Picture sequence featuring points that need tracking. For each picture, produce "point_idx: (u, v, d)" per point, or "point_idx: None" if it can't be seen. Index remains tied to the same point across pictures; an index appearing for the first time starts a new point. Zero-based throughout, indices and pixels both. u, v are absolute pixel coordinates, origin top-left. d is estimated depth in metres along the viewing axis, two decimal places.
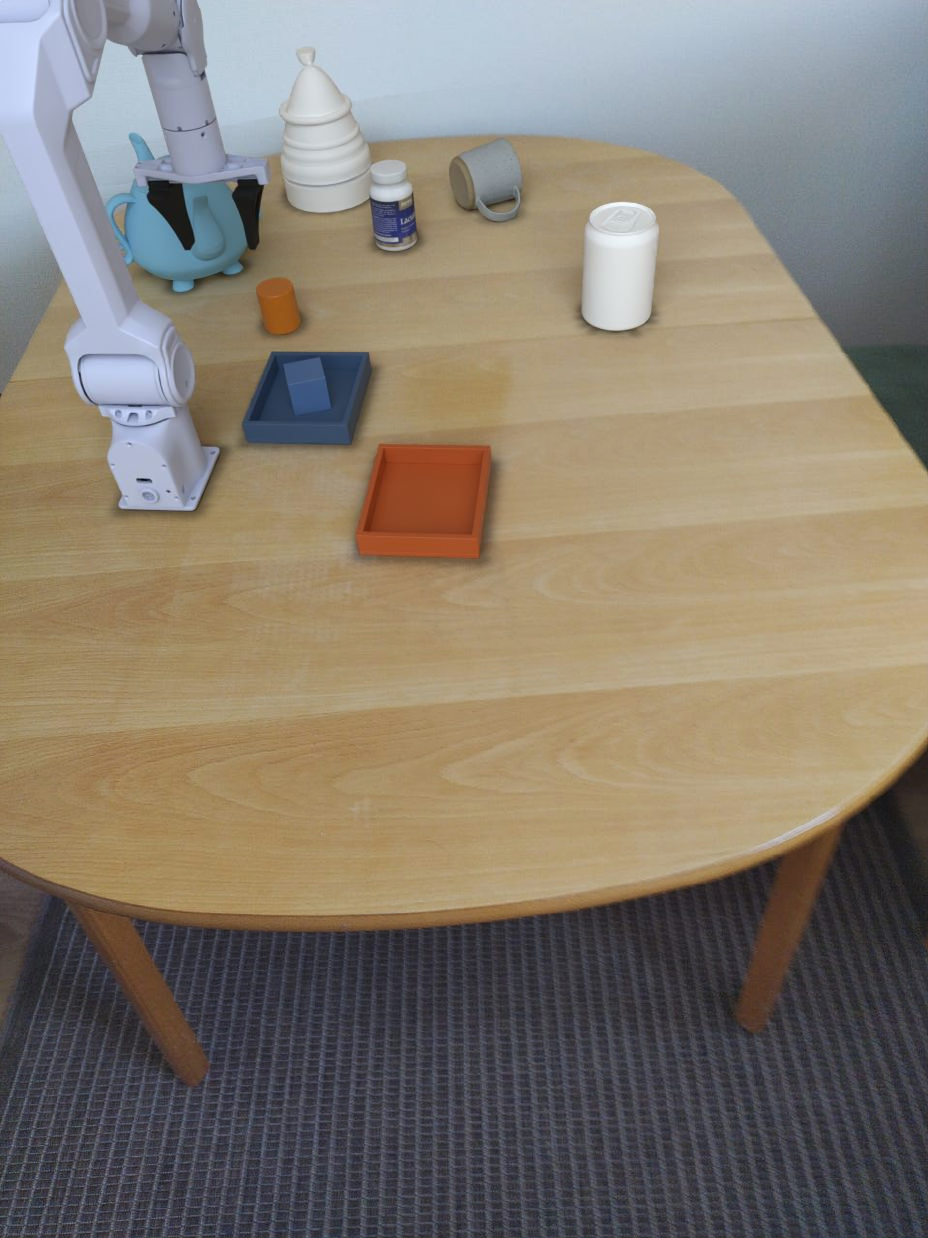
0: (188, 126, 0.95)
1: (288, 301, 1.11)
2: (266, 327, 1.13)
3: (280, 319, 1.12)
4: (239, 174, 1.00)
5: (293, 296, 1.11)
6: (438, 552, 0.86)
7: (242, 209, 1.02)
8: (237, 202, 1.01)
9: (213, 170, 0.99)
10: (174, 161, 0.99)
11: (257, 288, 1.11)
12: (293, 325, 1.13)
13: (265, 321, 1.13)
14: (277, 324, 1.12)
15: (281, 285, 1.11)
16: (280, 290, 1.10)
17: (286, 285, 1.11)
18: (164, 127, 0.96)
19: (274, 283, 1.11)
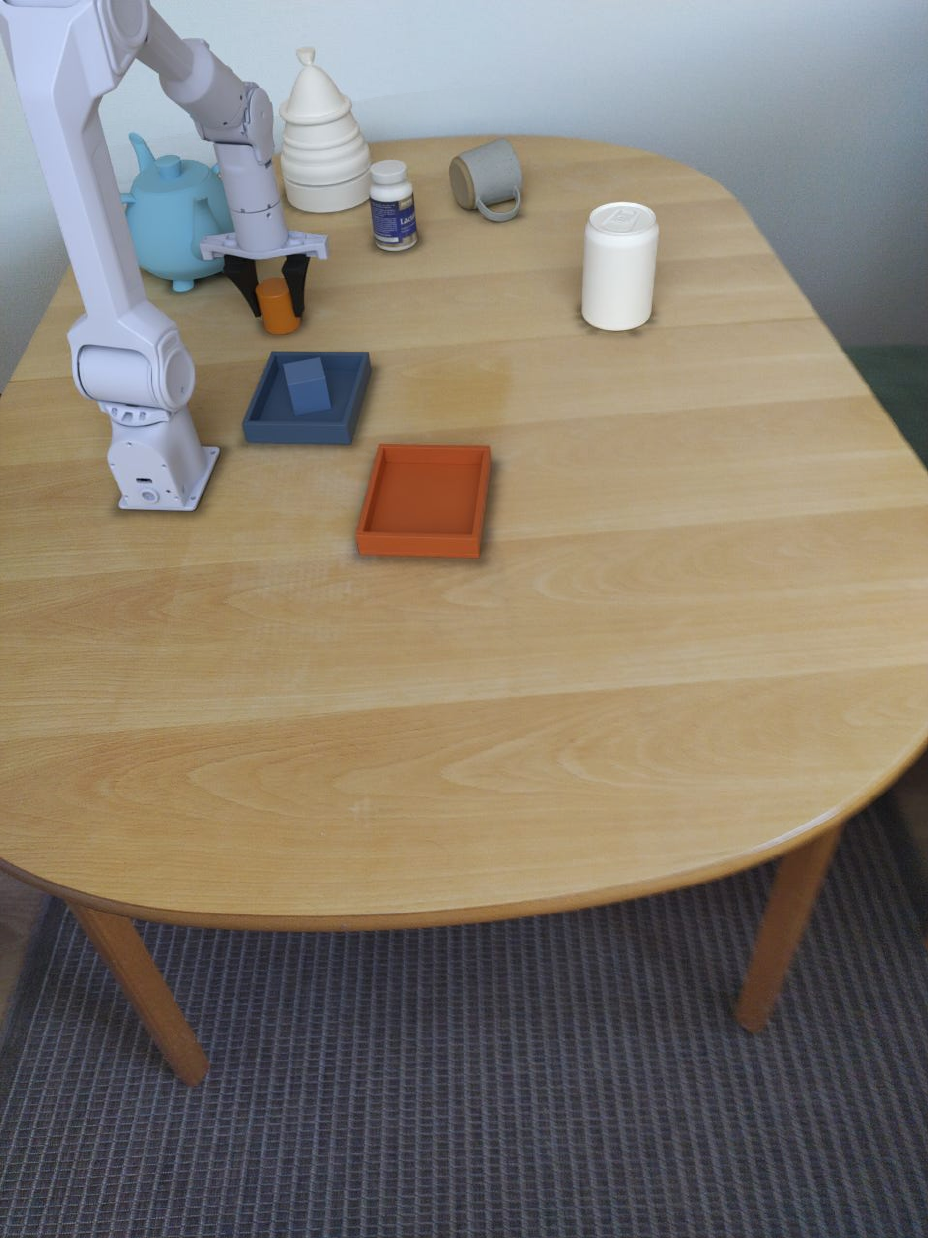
0: (250, 209, 1.01)
1: (288, 301, 1.11)
2: (266, 327, 1.13)
3: (279, 319, 1.12)
4: (301, 250, 1.05)
5: None
6: (438, 552, 0.86)
7: (291, 282, 1.08)
8: (286, 276, 1.07)
9: (276, 247, 1.05)
10: (240, 239, 1.04)
11: (257, 288, 1.11)
12: (293, 325, 1.13)
13: (265, 321, 1.13)
14: (277, 324, 1.12)
15: (281, 285, 1.11)
16: (280, 290, 1.10)
17: (285, 285, 1.11)
18: (232, 208, 1.02)
19: (274, 283, 1.11)
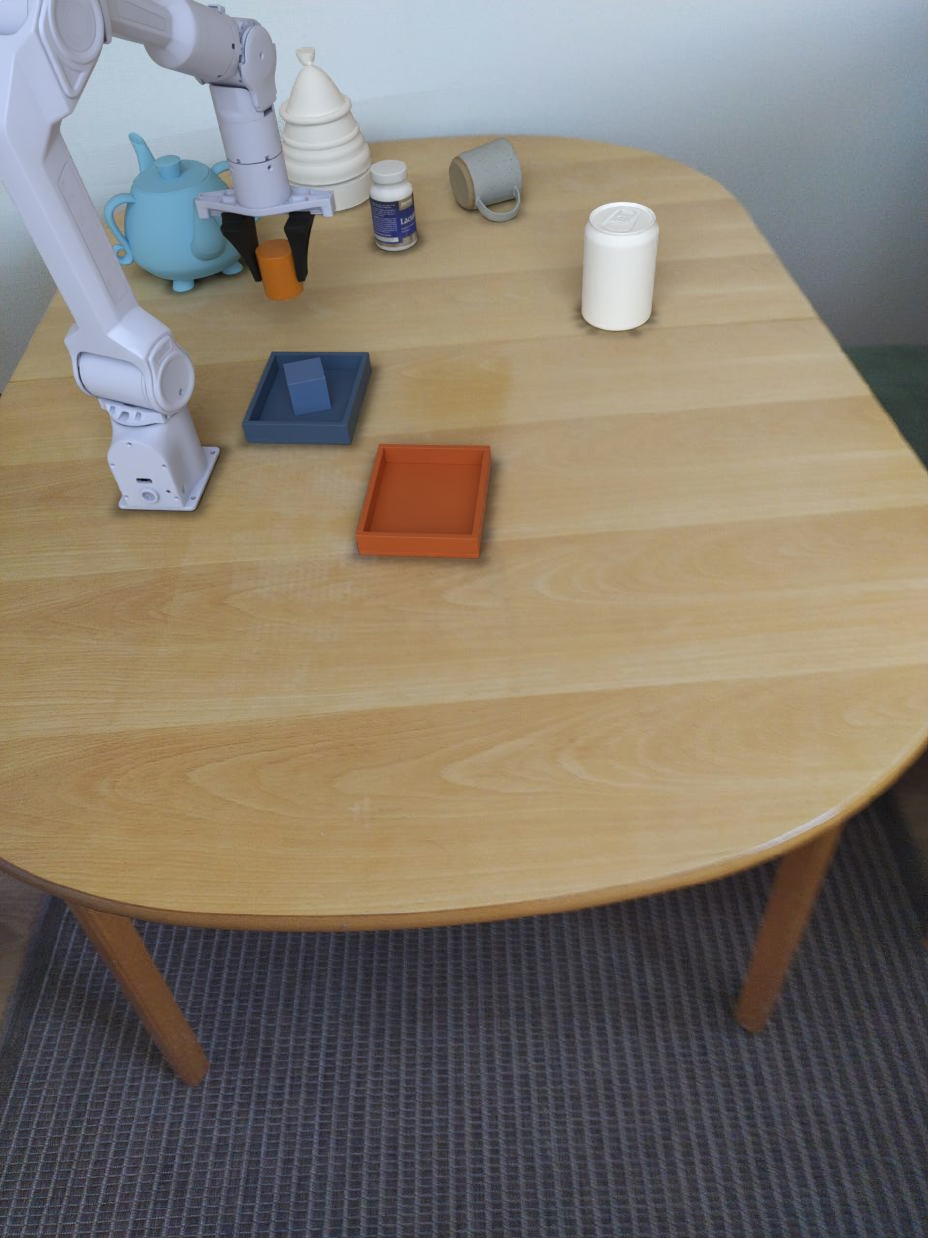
0: (247, 160, 0.93)
1: (290, 263, 1.03)
2: (266, 292, 1.06)
3: (281, 284, 1.04)
4: (304, 207, 0.98)
5: None
6: (438, 552, 0.86)
7: (293, 242, 1.00)
8: (288, 235, 0.99)
9: (278, 203, 0.97)
10: (239, 194, 0.97)
11: (257, 250, 1.03)
12: (295, 290, 1.05)
13: (265, 286, 1.05)
14: (278, 289, 1.04)
15: (283, 246, 1.03)
16: (282, 251, 1.02)
17: (288, 246, 1.03)
18: (230, 160, 0.94)
19: (275, 245, 1.03)
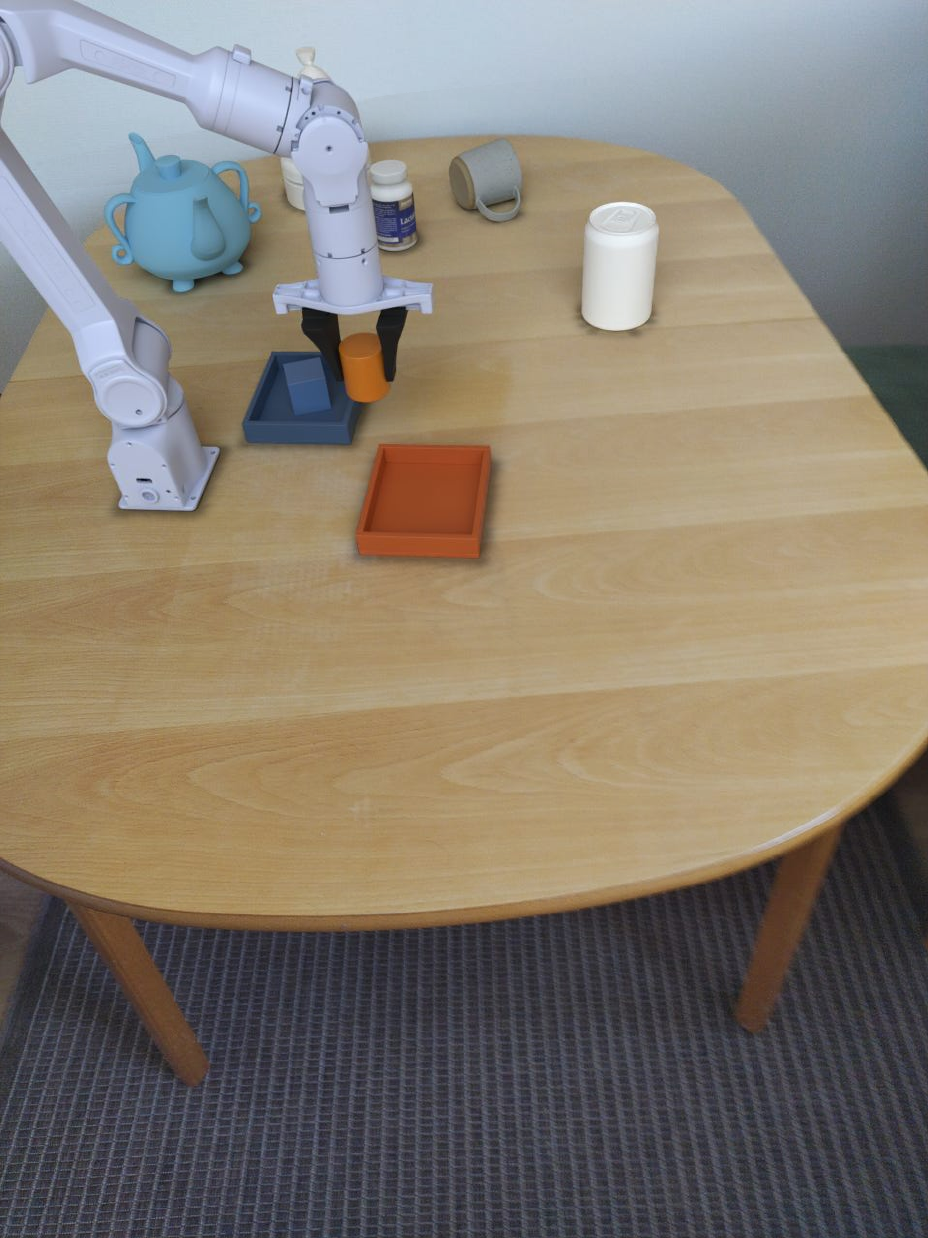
0: (313, 247, 0.81)
1: (379, 362, 0.89)
2: (349, 393, 0.92)
3: (367, 385, 0.90)
4: (401, 303, 0.84)
5: None
6: (438, 552, 0.86)
7: (385, 341, 0.86)
8: (381, 334, 0.85)
9: (371, 299, 0.83)
10: (325, 289, 0.83)
11: (340, 347, 0.89)
12: (383, 391, 0.92)
13: (348, 386, 0.91)
14: (364, 391, 0.91)
15: (370, 343, 0.90)
16: (369, 349, 0.89)
17: (376, 342, 0.90)
18: (318, 253, 0.80)
19: (361, 341, 0.90)
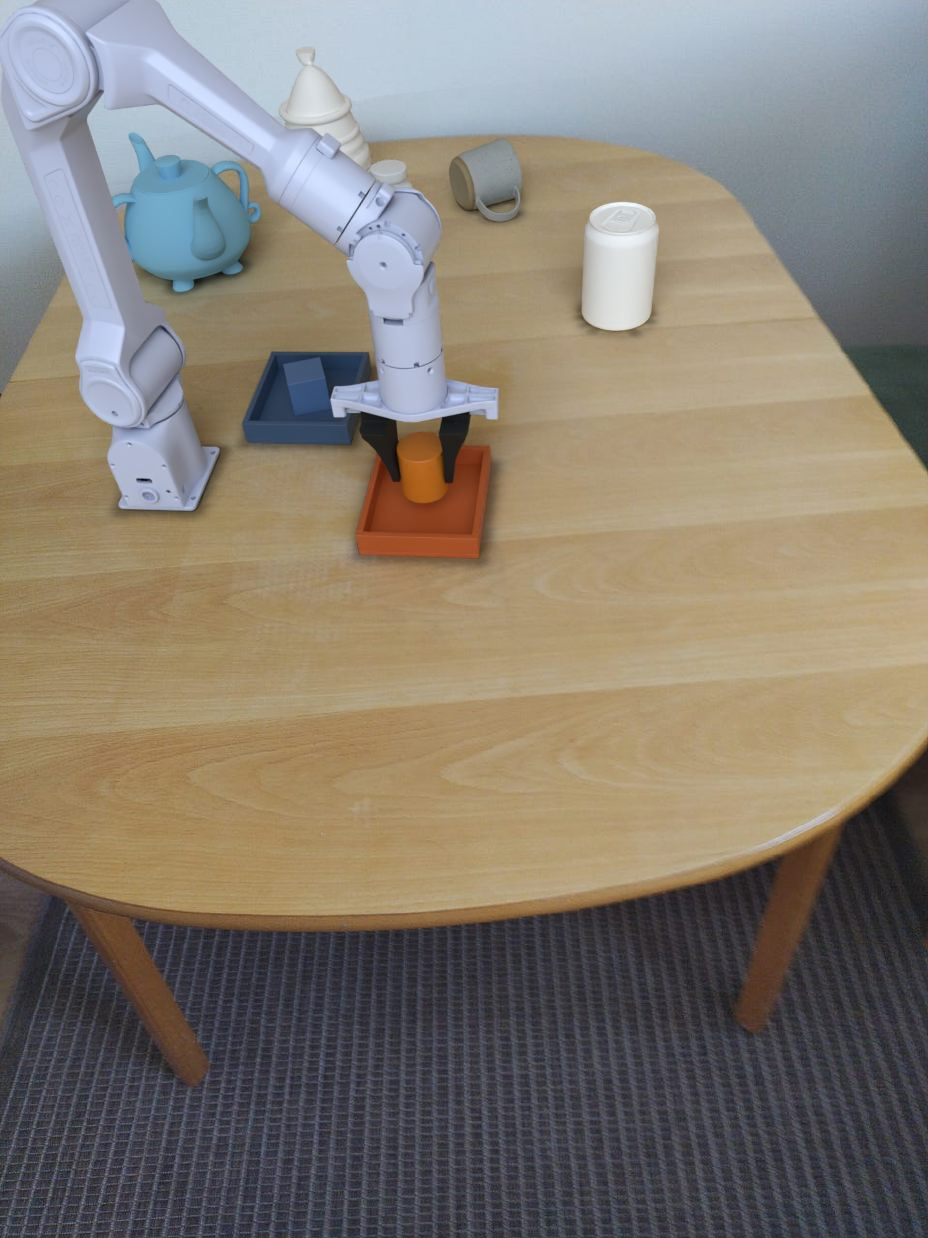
0: None
1: (439, 464, 0.86)
2: (406, 493, 0.88)
3: (426, 487, 0.87)
4: (465, 410, 0.80)
5: None
6: (438, 552, 0.86)
7: (447, 446, 0.83)
8: (443, 440, 0.82)
9: (434, 406, 0.80)
10: (387, 397, 0.79)
11: (398, 448, 0.86)
12: (441, 492, 0.88)
13: (406, 487, 0.88)
14: (422, 492, 0.87)
15: (429, 444, 0.86)
16: (429, 451, 0.85)
17: (435, 443, 0.86)
18: (382, 362, 0.77)
19: (420, 441, 0.86)
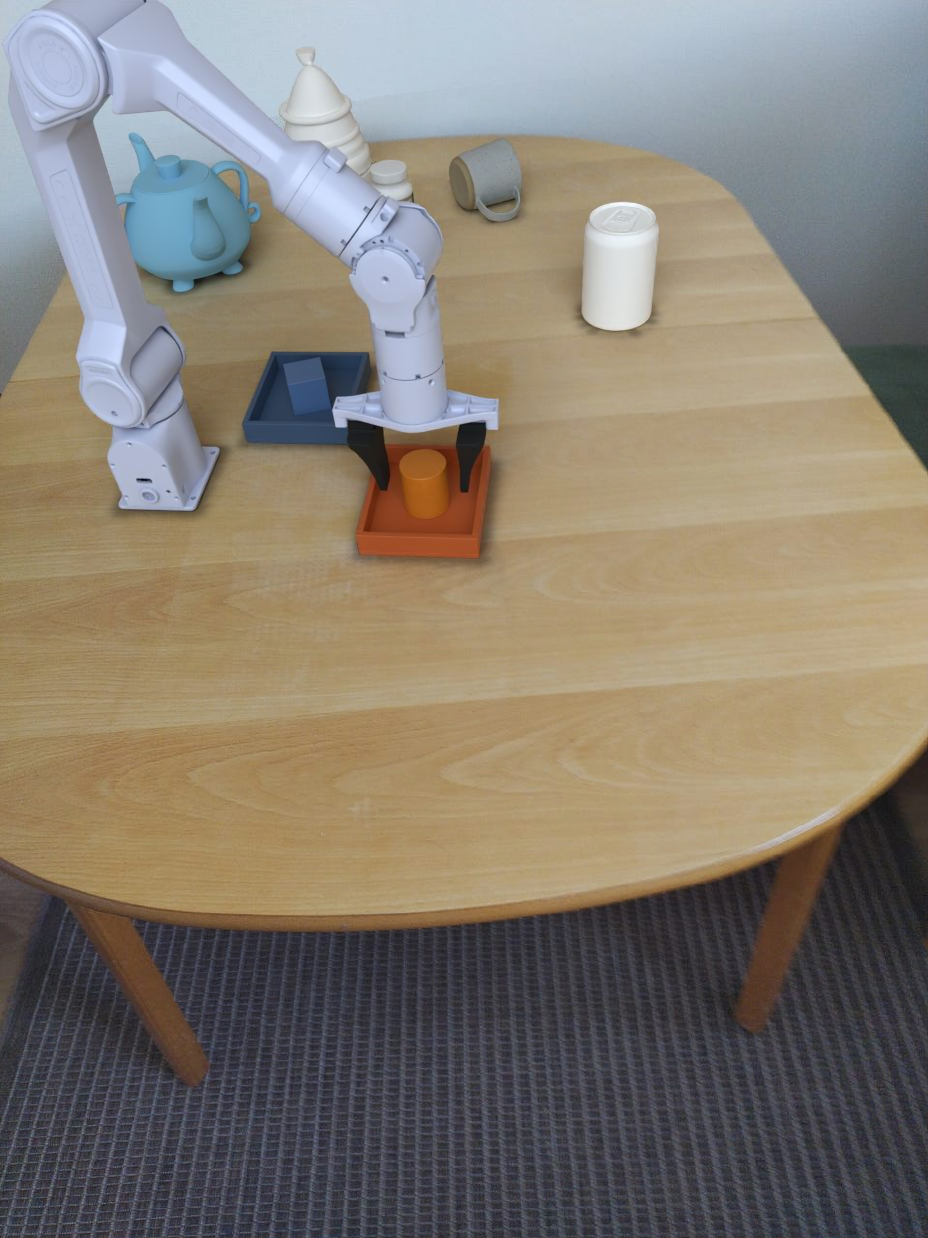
0: None
1: (440, 482, 0.87)
2: (408, 510, 0.90)
3: (428, 503, 0.88)
4: (466, 421, 0.81)
5: (446, 475, 0.88)
6: (438, 552, 0.86)
7: (464, 457, 0.83)
8: (460, 451, 0.82)
9: (435, 417, 0.81)
10: (389, 408, 0.80)
11: (401, 465, 0.87)
12: (443, 508, 0.89)
13: (408, 503, 0.89)
14: (424, 509, 0.89)
15: (431, 461, 0.87)
16: (431, 469, 0.87)
17: (437, 461, 0.87)
18: (383, 373, 0.78)
19: (422, 459, 0.88)
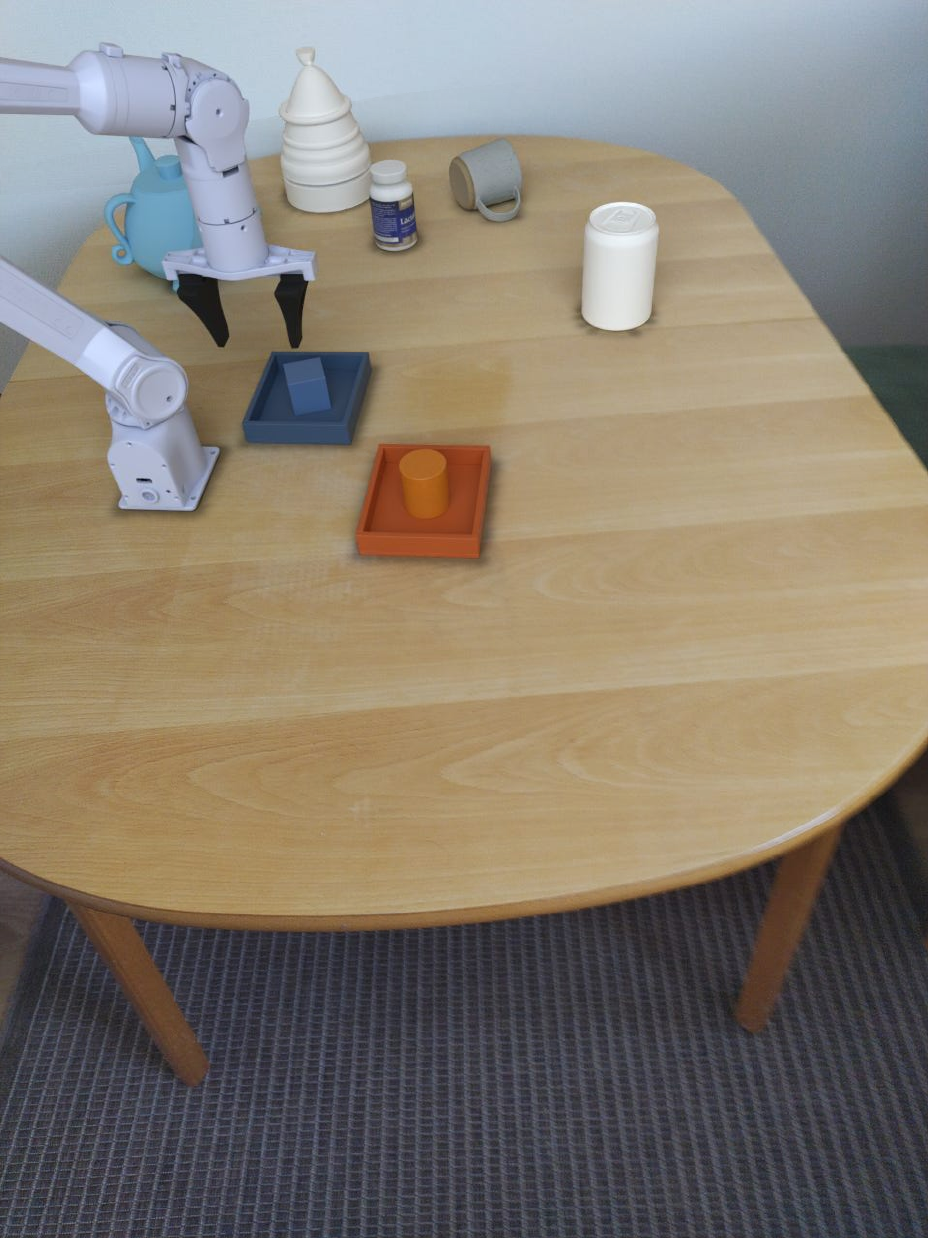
0: (204, 219, 0.83)
1: (440, 482, 0.87)
2: (408, 510, 0.90)
3: (428, 503, 0.88)
4: (283, 270, 0.87)
5: (446, 475, 0.88)
6: (438, 552, 0.86)
7: (285, 307, 0.90)
8: (280, 300, 0.89)
9: (253, 266, 0.87)
10: (209, 256, 0.86)
11: (401, 465, 0.87)
12: (443, 508, 0.89)
13: (408, 503, 0.89)
14: (424, 509, 0.89)
15: (431, 461, 0.87)
16: (431, 469, 0.87)
17: (437, 461, 0.87)
18: (199, 219, 0.84)
19: (422, 459, 0.88)
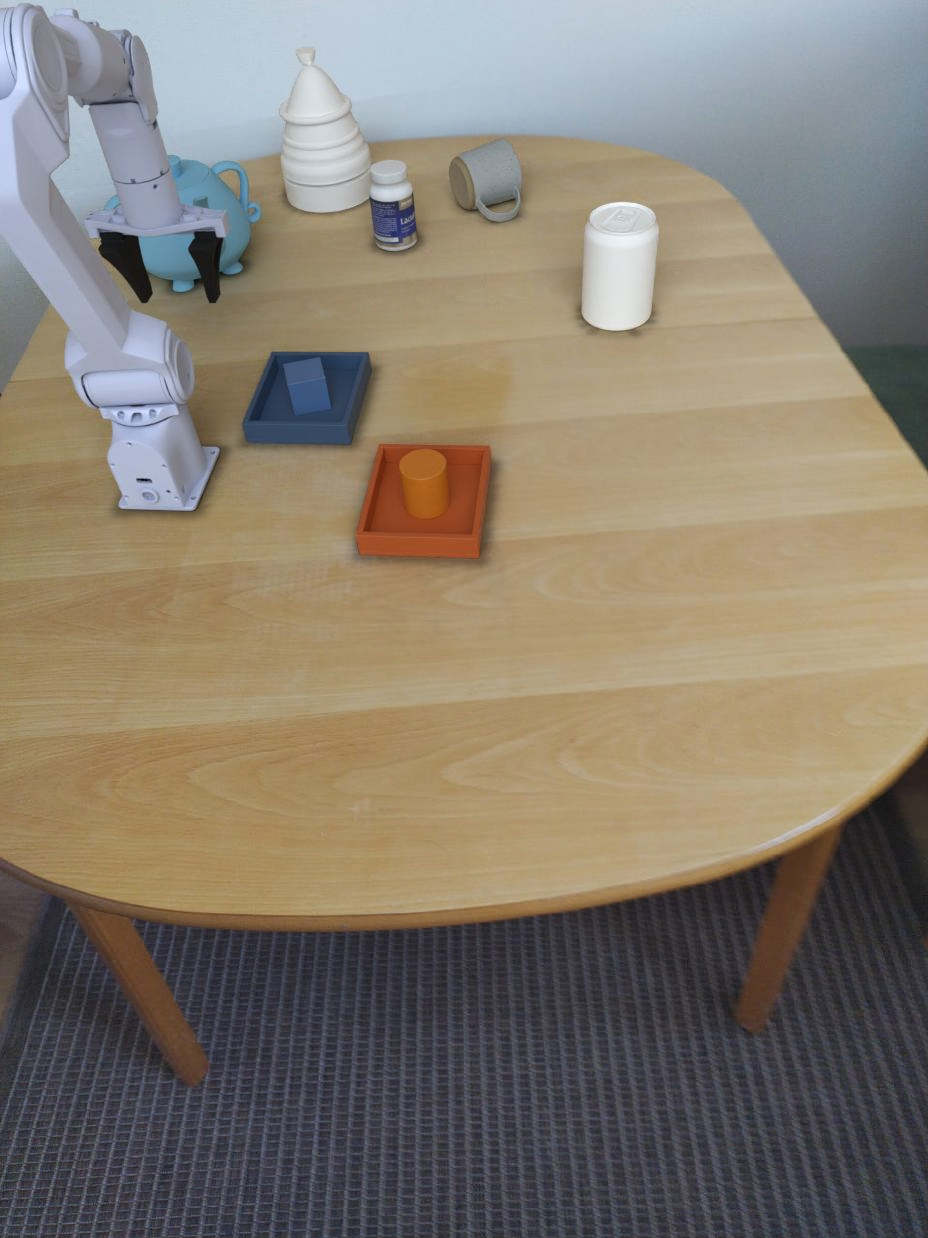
0: (142, 178, 0.90)
1: (440, 482, 0.87)
2: (408, 510, 0.90)
3: (428, 503, 0.88)
4: (195, 227, 0.94)
5: (446, 475, 0.88)
6: (438, 552, 0.86)
7: (200, 263, 0.96)
8: (194, 256, 0.95)
9: (168, 223, 0.93)
10: (126, 214, 0.93)
11: (401, 465, 0.87)
12: (443, 508, 0.89)
13: (408, 503, 0.89)
14: (424, 509, 0.89)
15: (431, 461, 0.87)
16: (431, 469, 0.87)
17: (437, 461, 0.87)
18: (114, 179, 0.90)
19: (422, 459, 0.88)
